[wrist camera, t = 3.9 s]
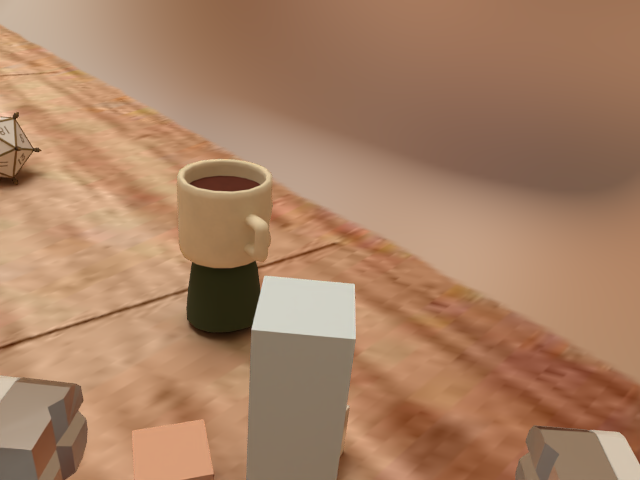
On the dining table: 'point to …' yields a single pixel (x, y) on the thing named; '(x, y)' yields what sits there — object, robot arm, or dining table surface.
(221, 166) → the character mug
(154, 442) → the terracotta cube
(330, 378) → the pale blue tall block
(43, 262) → the dining table surface
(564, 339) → the dining table surface
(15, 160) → the game die
